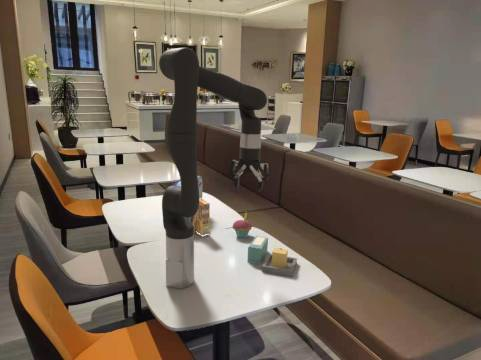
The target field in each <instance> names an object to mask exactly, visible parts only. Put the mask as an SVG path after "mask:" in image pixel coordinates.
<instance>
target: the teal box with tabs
mask: <svg viewBox="0 0 481 360" xmlns="http://www.w3.org/2000/svg"><path fill="white" fill-rule="evenodd" d="M268 244H269V237H266V236H259V235H256V236H255V237H253V240H252V241H251V242H250V244H249V246H248V247H247V263H250V264H251V263H252V264H258V265H261V264H262V261H263V260H264V258H265V256H266V255H267V252H268Z"/></svg>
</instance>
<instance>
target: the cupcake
mask: <svg viewBox="0 0 481 360" xmlns="http://www.w3.org/2000/svg"><path fill="white" fill-rule="evenodd" d="M247 215H248V213H247V211H246V212H245V213H244V217H243V219H239V220H235V221H234V222H233V223H232V229H233V230H234V231H235V234H236V236H237V237H238V236H239V237H238V238H241V237H244V238H247V237H248V236H249V232H250V231H251V230H252V227H253V226H252V223H251V222H249V221H248V220H246V219H247ZM246 236H247V237H246Z"/></svg>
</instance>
